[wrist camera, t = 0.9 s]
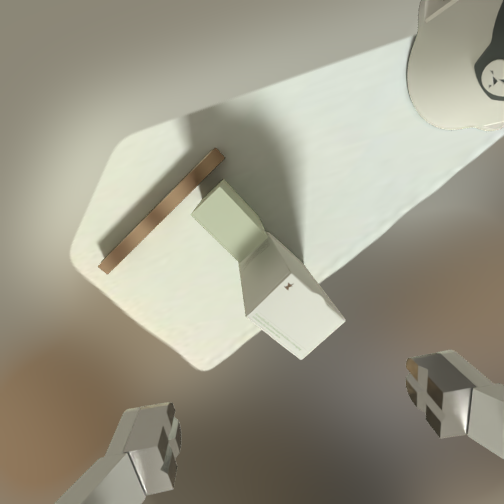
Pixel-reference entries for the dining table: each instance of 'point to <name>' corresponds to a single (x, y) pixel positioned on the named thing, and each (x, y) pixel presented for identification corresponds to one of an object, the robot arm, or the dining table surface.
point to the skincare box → (286, 298)
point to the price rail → (162, 210)
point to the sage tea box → (230, 221)
